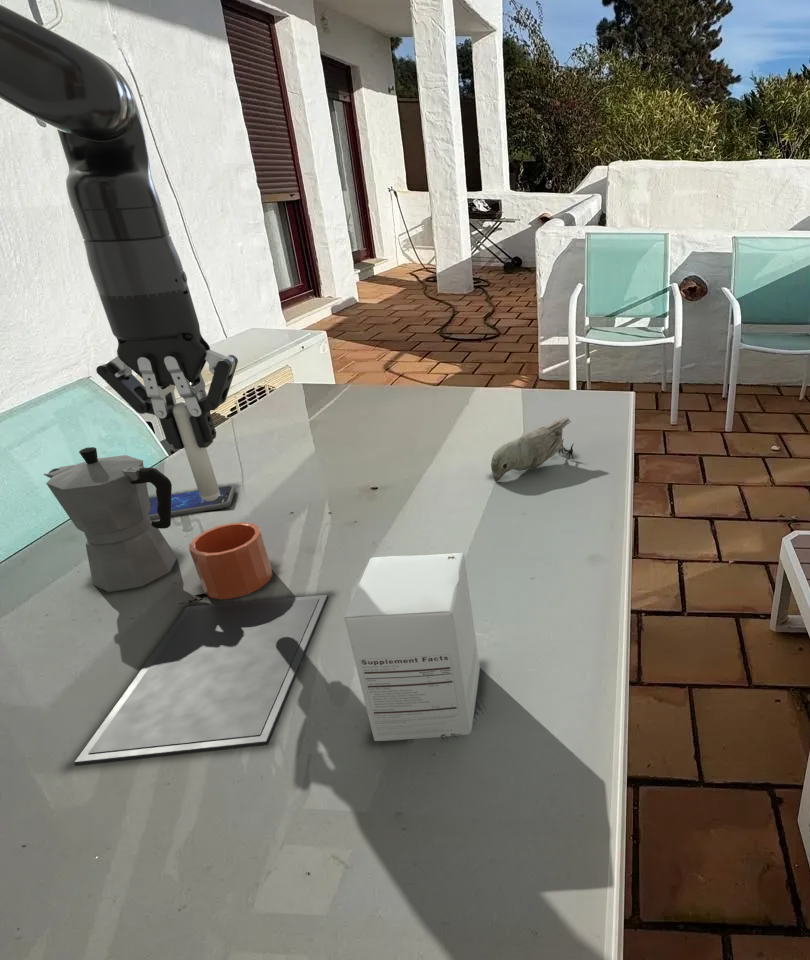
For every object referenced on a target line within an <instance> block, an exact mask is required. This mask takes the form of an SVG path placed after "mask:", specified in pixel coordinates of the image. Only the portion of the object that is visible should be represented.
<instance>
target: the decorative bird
mask: <svg viewBox="0 0 810 960" xmlns="http://www.w3.org/2000/svg"><path fill="white" fill-rule="evenodd" d="M571 423H572V421H571V419H570V417H569V416H565V417H560V418H559V419H558V420H554V421H553V422H551V423H549V424H548V425H545V426H542V427H538V428H535V429H532V430H530V431H527V432H525V433H524V434H522V435H521V436H519V437H518V438H516V439H514V440H512V441H507V442H505V443H503V444H501V445H500V446H498V447H497V448H496V449H495V450H494V452H493V454H492V457H491V461H490V468H491V475H492V478H493V480H494V482H495V483H497V482H498V481H499V480H500V479H502V478H503V476H505V474H506V473H508V472H509V471H511V470H515V471H519V472H521V471H522V472H523V471H526V470H534V469H537V468H538V467H540V466H541V465H543V464H544V463H545V462H546V461H548V460H549V459H551V458H552V457H554V456H555V455H556V453H557V452H558V455H559V456H560V453H562V454H563V455H566V457H568V458H570V457H571V458H572V459H573V460H574V459H575V457H574V456H573V454H574V450H573V447H574V443H572V444H571V445H570V448H569V449H566V448H565V446H564V444H563V443H564V439H565V438H563V432H564V431H563V429H565V427H566V426H568V425H569V424H571ZM564 452H567V453H566V454H564Z"/></svg>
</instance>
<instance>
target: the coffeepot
mask: <svg viewBox="0 0 810 960" xmlns="http://www.w3.org/2000/svg"><path fill="white" fill-rule="evenodd" d="M78 453H79V455H80V456H81V458H82V459H83V460H84V461H82V462H79V463H77V464H70V465H63V466H59V467H57V468H53V469H51V470H49V471H48V473H44V474H43V476H45V477H47V478H49V479H48V481H46V483H45V484H46V486H47V487H48V488H49V490H50V492H51V493H52V494H53V496H54V497H55V499H56V500H57V502H58V503H59V505H60V506H61V507H62V509H63V511H64V512H65V513H66V514H67V516H68V517H69V519H70V521H71V522H72V524H73V525H74V526H75V528H76V529H77V530H79V531H81V532H83V533H84V535H85V539H86V542H85V549H86V554H87V559H88V560H87V561H88V565H89V571H90V574H91V575H90V576H91V581H92V585H93V586H95V587H98V589H100V590H101V589H102V590H103V591H106V592H108V593H111V592H112V593H113V592H117V591H124V590H129V589H130V590H131V589H136V588H141V587H144V586H146V585H147V584H150V583H151V582H154V581H155V580H158V579H159V578H161V577H163V576H165V575H167V574H169V573H170V572H171V570H172V569H173V567H174V564H175V563H176V561H177V559H178V557H177V556H176V554H175V552H174V551H173V549H172V547H171V546H170V544H169V542H168V541H167V539H166V538H165V537H164V535H163V534H162V532H161V531H160V529H161V530H164V529H168V528H170V527H171V526H172V516H171V495H172V493H173V490H172V489H173V486H172V482H171V480H170V479H169V478H168V476H166V475H165V474H164V473H162V472H161V471H160V470H159V469H158V468H156V467H145V466H144V460H143V459H139V458H136V457H133V456H131V455H128V454H123V455H116V456H115V455H114V456H106V457H98V451H97V447H93V446H91V447H90V446H89V447H84V448H82V449H80V450H79V451H78ZM148 483H150V484H152V485H153V486H154V487H155V495H156V497H157V500H158V507H157V512H158V514H159V517H160V518H159V520H150V518H149V515H148V513H149V511H150V509H151V507H150V501H149V498H150V496H149V490H148V489H149V488H148Z"/></svg>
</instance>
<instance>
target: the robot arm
mask: <svg viewBox="0 0 810 960" xmlns="http://www.w3.org/2000/svg"><path fill="white" fill-rule="evenodd" d="M0 99H1V100H3V101H5V102H6V103H7V104H9V105H11V106H13V107H15V108H16V109H18V110H20V111H22V112H23V113H26V114H28V115H29V116H31V117H33V118H35V119H37V120H39V121H41V122H43V123H44V124H46V125H48V126H50V127H53V128H54V129H56V131H57V133H58V136H59V140H60V143H61V148H62V149H63V153H64V156H65V159H66V162H67V165H68V166H67V167H68V174H67V177H66V181H65V186H66V193H67V197H68V200H69V203H70V207H71V209H72V213H73V216H74V219H75V221H76V224H77V227H78V230H79V232H80V236H81V239H82V240H83V244H84V248H85V253H86V258H87V263H88V267H89V270H90V272H91V276H92V278H93V281H94V285H95V287H96V290H97V293H98V295H99V299H100V302H101V304H102V307H103V309H104V312H105V315H106V319H107V321H108V324H109V327H110V330H111V333H112V335H113V336H114V338H116V340H117V343H118V344H117V349H116V355H117V356H115V357H114V358H112V359H110V360H108V361H107V362H104V363H102V364H100V365H98V366H97V367H96V369H95V370H96V374H97V375H98V376H99V377H100V378H101V379H102V380H103V381H105V383H107V385H109V387H110V388H112V389H113V390H114V391H115V392H116V393H117V394H118V395H119V397H121V398H122V399H123V400H124V401H125V402H126V403H127V404H128V405H129V406H130V407H131V408H132V409H133V410H134V411H135V412H136V413H138V414H140V415H145V414H148V415H149V414H150V415H153V416H155V417H157V418H158V420H159V422H160V425H161V429H162V432H163V435H164V437H165V441H166V442H167V443H168V444H169V445H172V447H173V449H174V450H183V449H185V448H184V445H183V442H182V439H181V436H180V433H179V430H178V427H177V424H176V421H175V418H174V415H173V407H174V406H175V405H176V404H177V400H176V395H175V388H176V390H177V393H178V395H179V396H180V397H181V398H183V402H185V403H186V405H187V408H188V410H189V413H190V414H191V415H192V416H191V417H190V418H189V419H190V422H191V425H192V428H193V431H194V434H195V437H196V441H197V444H198V446H199V448H206V449H207V448H208V447H210V446H211V445H212V444H213V443H214V439H216V437H217V431H216V428H215V424H214V421H213V417H212V414H211V411H216V410H217V409H218V408H219V407H220V406H221V405H223V404H224V403H225V402H226V401H227V397H228V394H229V391H230V389H231V385H232V382H233V379H234V376H235V372H236V370H237V366H238V363H239V359H238V358H237V357H236V355H234V354H228V355H225V354H221V353H219V352H217V351H214V350H212V349H211V346H210V345H209V343H208V342H207V341H206V340H205V338H204V337H203V336H202V333H201V329H200V323H199V319H198V316H197V312H196V308H195V305H194V302H193V298H192V295H191V292H190V288H189V285H188V276H187V274H186V272H185V271H184V268H183V264H182V261H181V258H180V256H179V254H178V251H177V249H176V247H175V245H174V242H173V240H172V236H171V235H170V234H171V233H170V230H169V227H168V224H167V219H166V216H165V213H164V210H163V206H162V203H161V199H160V196H159V194H158V192H157V189H156V187H155V184H154V180H153V177H152V171H151V165H150V164H151V163H150V157H149V152H148V147H147V140H146V136H145V135H146V134H145V130H144V127H143V122H142V118H141V115H140V114H141V113H140V111H139V107H138V104H137V101H136V97H135V95H134V92H133V91H132V89H131V86H130V85H129V83H128V81H127V80H126V78H125V77H124V76H123V75H122V74H121V73H120V71H118V70H117V68H115V67H114V66H113V65H112V64H110V63H109V62H108V61H106V60H104V59H103V58H101V57H99V55H97V54H95V53H94V52H91V51H89V50H88V49H86V48H84V47H83V46H80V45H79V44H77V43H75V42H73V41H72V40H69V39H67V38H66V37H64V36H62V35H61V34H58V33H56V32H54V31H52V30H50V29H49V28H47V27H45V26H43V25H41V24H39V23H38V22H35V21H34V20H31V19H30V18H28V17H26V16H24V15H22V14H20V13H18V12H16V11H14V10H13V9H11V8H8V7H6V6H4V5H2V4H0ZM206 363H208V371H209V372H210V373H211V374H213V375H212V378H211V382H210V385H209V388H208V391H207V392H206V383H205V380H204V377H203V375H202V372H203V369H204V367H205V365H206ZM133 372H134V373H136V375H138V376H139V377H140V378H141V379H142V381H143V383H142V382H141V381H140V380H138V378H137V377H136V376H135V375H134V374H133Z"/></svg>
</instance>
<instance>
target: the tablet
mask: <svg viewBox="0 0 810 960" xmlns="http://www.w3.org/2000/svg"><path fill="white" fill-rule="evenodd" d="M328 598H329V595H328V594H322V595H308V596H298V597H297V596H295V597H284V598H274V599H273V598H272V599H262V600H261V599H259V600H250V601H237V602H225V603H213V604H202V605H193V606H192V605H191V606H190V605H189V606H186V607H185V608H184V610H182V613H181V614H180V615H179V616H178V618H177V619H176V621H175V622H174V624H173V625H172V626H171V628H170V629H169V630H168V632H167V633H166V634H165V636H164V637H163V639H162V640H161V641H160V643H159V644H158V646H157V647H156V649H155V650H154V651H153V653H152V654H151V656H150V657H149V658H148V659H147V661H146V662H145V664H144V665H143V666H142V668H141V669H140V670H139V672H138V673H137V675H136V676H135V678H134V679H133V680H132V682H131V683H130V684H129V686H128V687H127V689H125V691H124V693H123V694H122V695H121V697H120V698H119V700H118V701H117V702H116V704H114V707H112V709H111V711H110V712H109V713H108V715H107V716H106V718H105V719H104V720H103V722H101V724H100V725H99V727H98V728H97V730H96V731H95V732H94V734H93V735H92V736H91V738H90V739H89V741H88V742H87V744H85V747H84V748H83V749H82V751H81V752H80V753H79V755H78V756H77V757H76V759H75V760H74V761H73V764H74V765H82V764H84V765H85V764H92V763H100V762H101V763H102V762H110V761H120V760H128V759H139V758H147V757H156V756H164V755H165V756H166V755H173V754H174V755H175V754H183V753H192V752H201V751H202V752H203V751H211V750H220V749H229V748H230V749H231V748H238V747H247V746H256V745H257V746H258V745H265V744H268V742H269V740H270V738H271V735H272V733H273V730H274V728H275V726H276V724H277V721H278V718H279V716H280V713H281V711H282V709H283V706H284V704H285V702H286V700H287V697H288V694H289V693H290V689H291V687H292V685H293V682H294V680H295V677H296V676H297V673H298V670H299V668H300V665H301V664H302V660H303V658H304V655H305V653H306V651H307V648H308V647H309V645H310V641H311V639H312V636H313V634H314V632H315V629H316V627H317V624H318V622H319V619H320V617H321V614H322V612H323V610H324V608H325V605H326V602H327V600H328Z"/></svg>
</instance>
